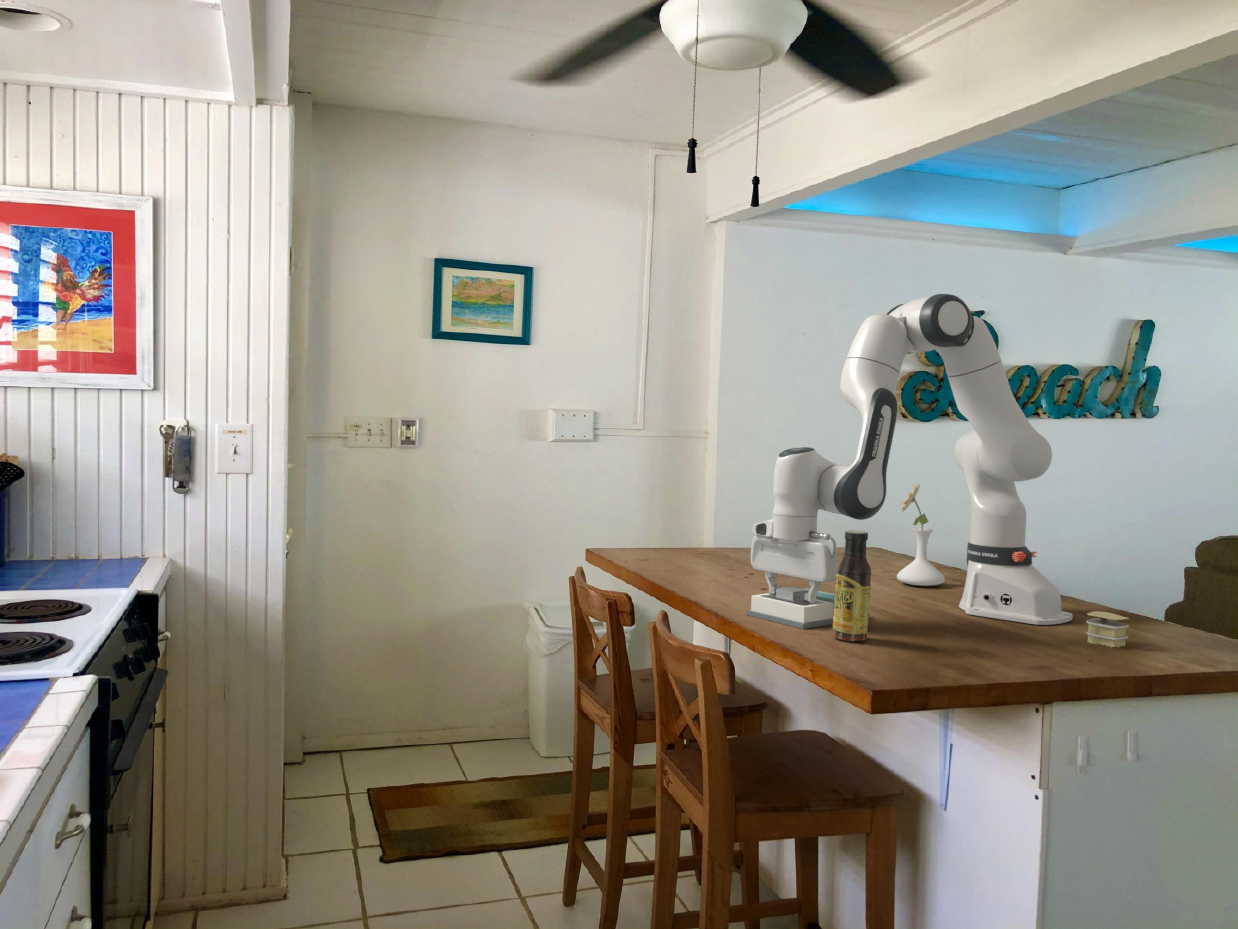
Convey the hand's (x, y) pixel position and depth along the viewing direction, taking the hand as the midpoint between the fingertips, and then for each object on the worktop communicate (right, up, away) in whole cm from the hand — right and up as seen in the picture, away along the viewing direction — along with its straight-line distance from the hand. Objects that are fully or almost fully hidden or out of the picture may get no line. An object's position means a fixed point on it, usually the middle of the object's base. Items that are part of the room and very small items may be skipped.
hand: (792, 598), depth 193 cm
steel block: (0, -3, 0) cm, 3 cm away
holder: (+4, -4, +3) cm, 7 cm away
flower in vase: (+39, -3, +44) cm, 59 cm away
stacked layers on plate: (+55, -7, -14) cm, 57 cm away
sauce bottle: (+8, -5, -16) cm, 19 cm away
